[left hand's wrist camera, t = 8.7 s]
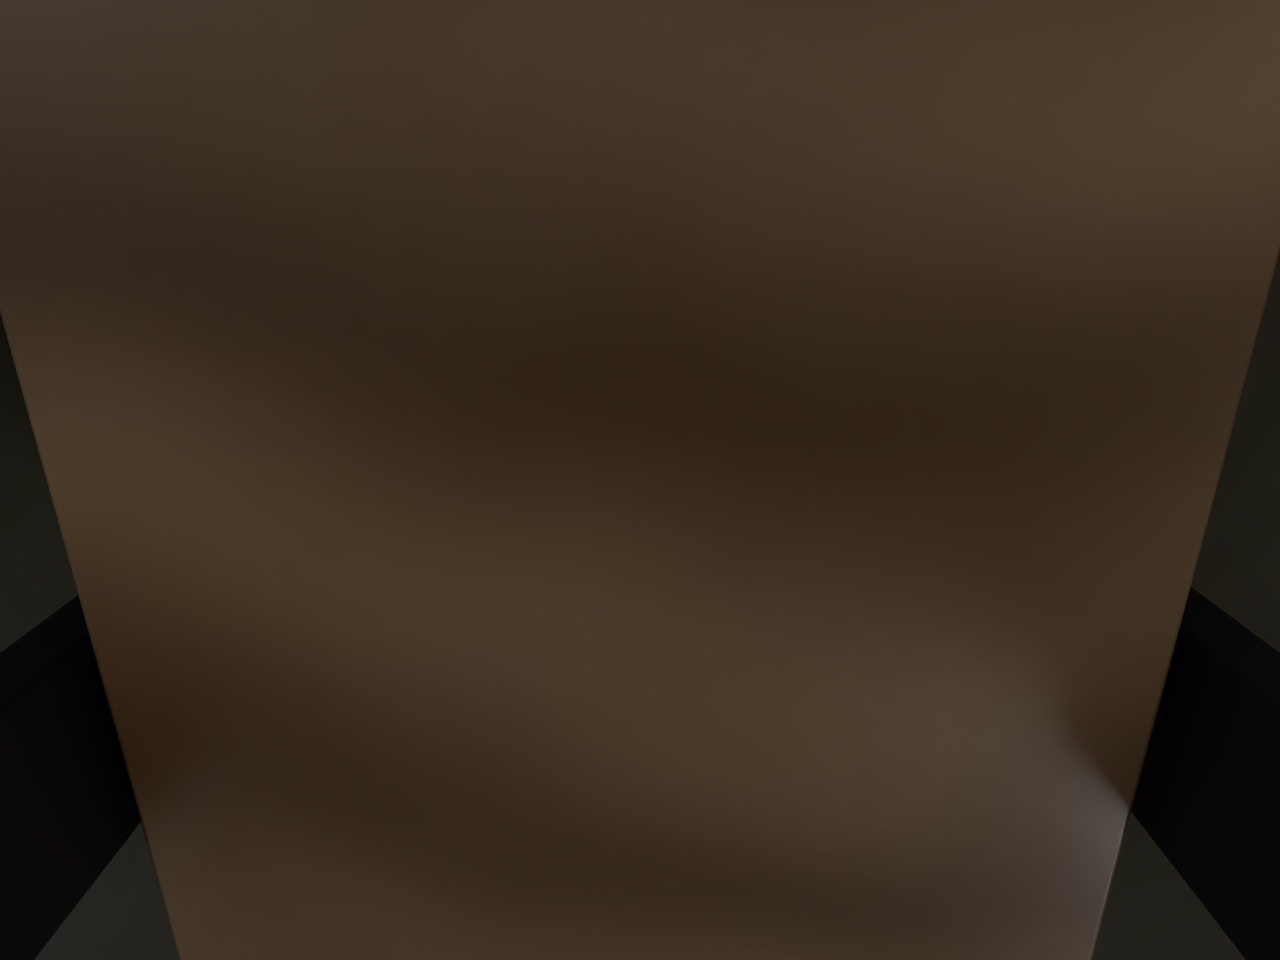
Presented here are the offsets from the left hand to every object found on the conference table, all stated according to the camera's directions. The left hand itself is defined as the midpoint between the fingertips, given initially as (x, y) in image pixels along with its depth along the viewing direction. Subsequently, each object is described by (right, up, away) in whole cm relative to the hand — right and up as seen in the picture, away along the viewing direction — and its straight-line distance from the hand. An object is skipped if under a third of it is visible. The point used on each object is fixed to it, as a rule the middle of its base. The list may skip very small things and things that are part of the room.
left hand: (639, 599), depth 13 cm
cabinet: (0, +6, +3) cm, 7 cm away
